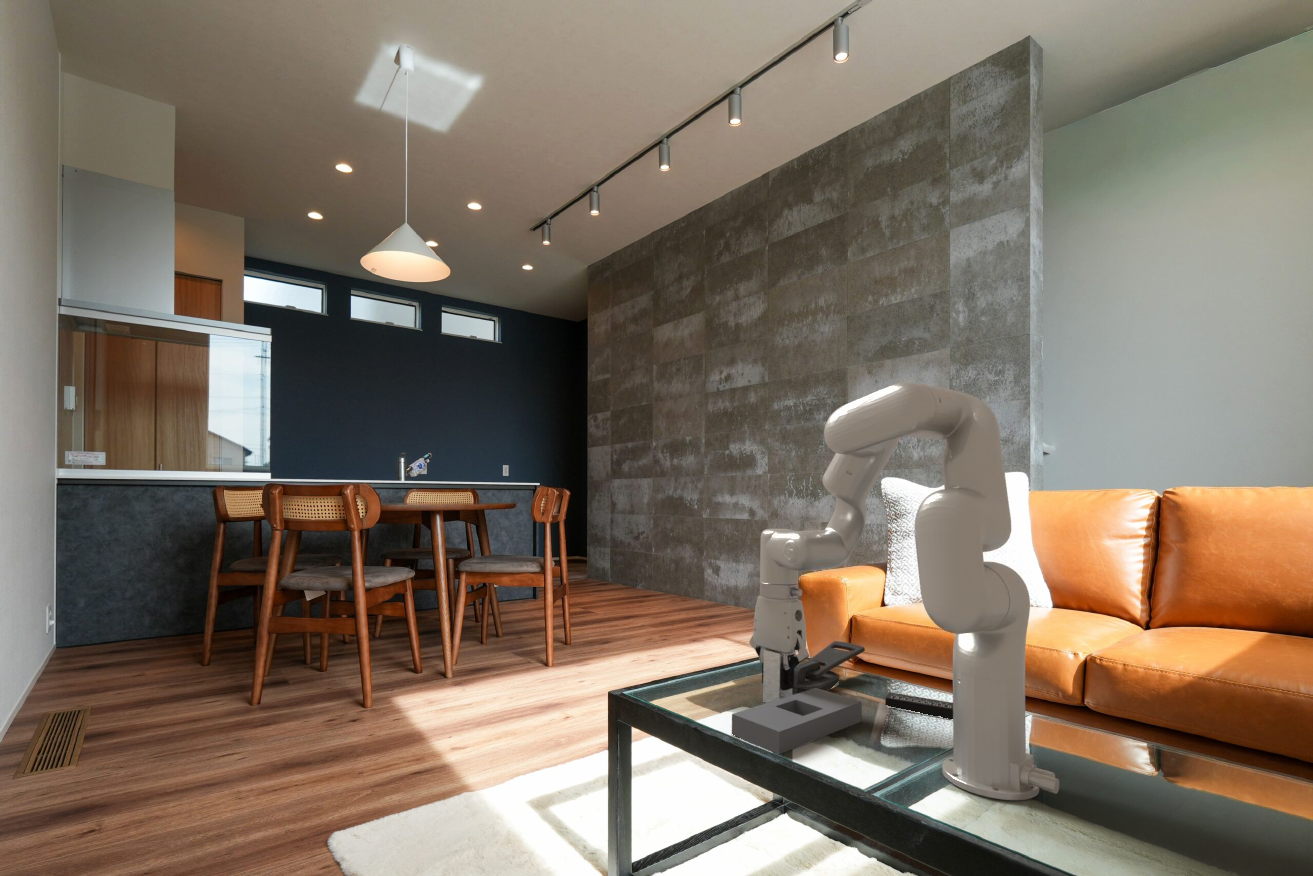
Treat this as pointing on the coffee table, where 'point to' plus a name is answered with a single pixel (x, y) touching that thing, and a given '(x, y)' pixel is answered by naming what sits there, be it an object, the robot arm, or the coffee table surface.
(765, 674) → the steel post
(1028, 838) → the coffee table surface
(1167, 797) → the coffee table surface
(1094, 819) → the coffee table surface
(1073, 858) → the coffee table surface
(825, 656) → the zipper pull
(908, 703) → the multiport hub
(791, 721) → the grey block with hole
